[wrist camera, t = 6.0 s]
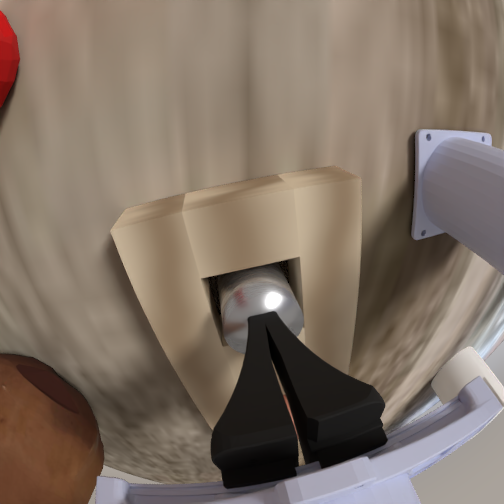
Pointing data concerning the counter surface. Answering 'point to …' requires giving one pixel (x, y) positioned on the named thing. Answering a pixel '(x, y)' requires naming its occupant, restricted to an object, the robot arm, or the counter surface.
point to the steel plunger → (255, 301)
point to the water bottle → (7, 57)
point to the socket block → (242, 257)
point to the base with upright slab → (465, 377)
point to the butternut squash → (45, 437)
